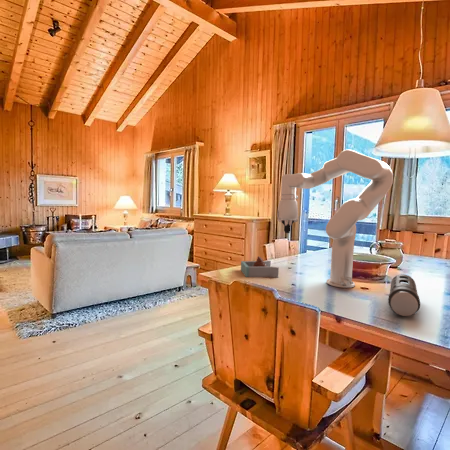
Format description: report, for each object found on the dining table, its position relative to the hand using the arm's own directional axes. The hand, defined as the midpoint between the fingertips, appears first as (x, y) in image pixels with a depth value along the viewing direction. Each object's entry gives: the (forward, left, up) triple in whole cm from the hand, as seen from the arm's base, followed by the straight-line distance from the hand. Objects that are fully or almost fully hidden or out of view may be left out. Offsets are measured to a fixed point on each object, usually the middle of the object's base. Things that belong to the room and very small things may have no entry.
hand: (287, 232), depth 166 cm
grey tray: (0, +15, -22) cm, 26 cm away
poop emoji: (-1, +14, -22) cm, 26 cm away
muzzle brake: (-54, -28, -22) cm, 65 cm away
